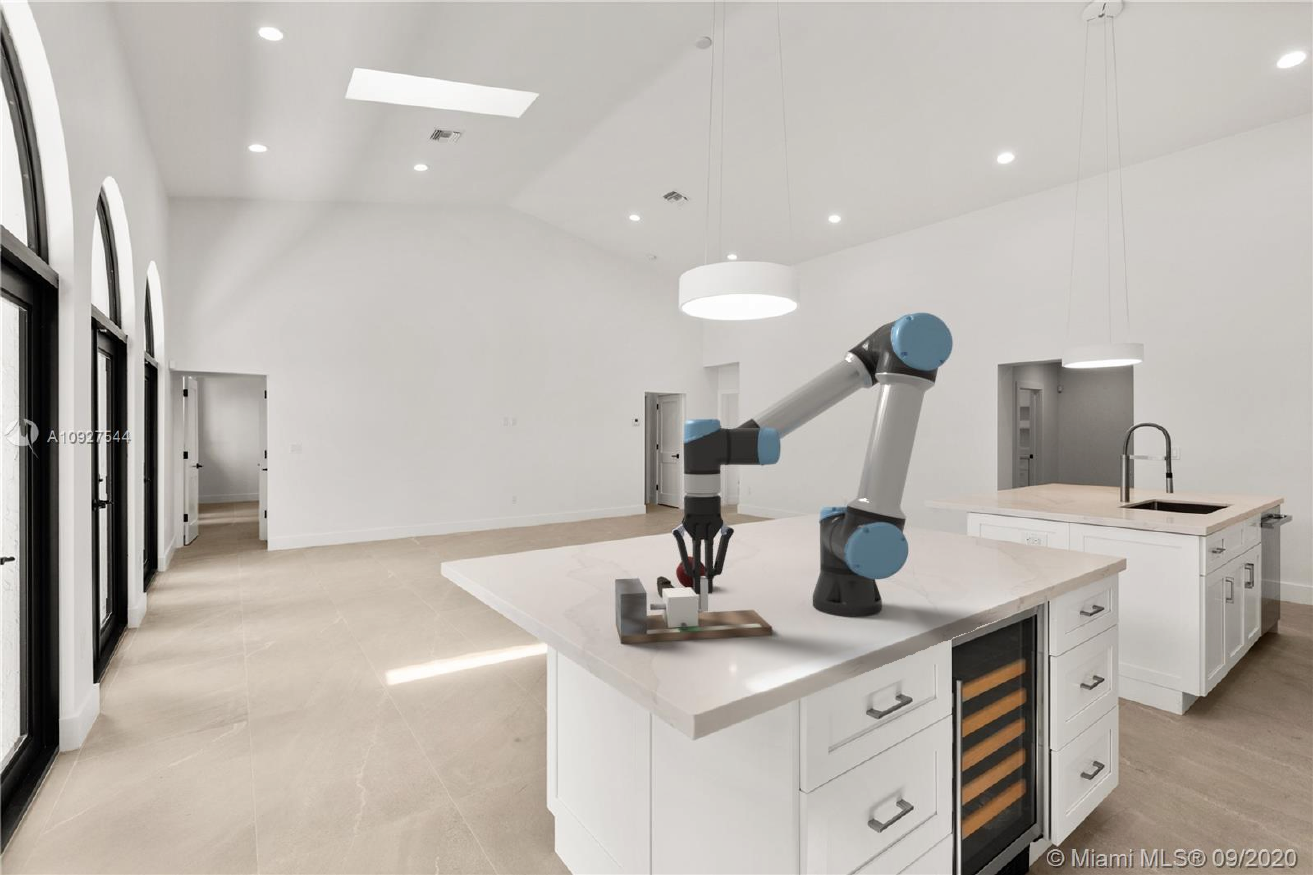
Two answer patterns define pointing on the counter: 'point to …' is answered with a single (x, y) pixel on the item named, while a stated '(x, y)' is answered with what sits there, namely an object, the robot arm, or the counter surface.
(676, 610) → the gauge slider
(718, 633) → the gauge board
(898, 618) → the counter surface
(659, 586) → the hand tool
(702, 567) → the apple
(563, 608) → the counter surface
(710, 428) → the robot arm
